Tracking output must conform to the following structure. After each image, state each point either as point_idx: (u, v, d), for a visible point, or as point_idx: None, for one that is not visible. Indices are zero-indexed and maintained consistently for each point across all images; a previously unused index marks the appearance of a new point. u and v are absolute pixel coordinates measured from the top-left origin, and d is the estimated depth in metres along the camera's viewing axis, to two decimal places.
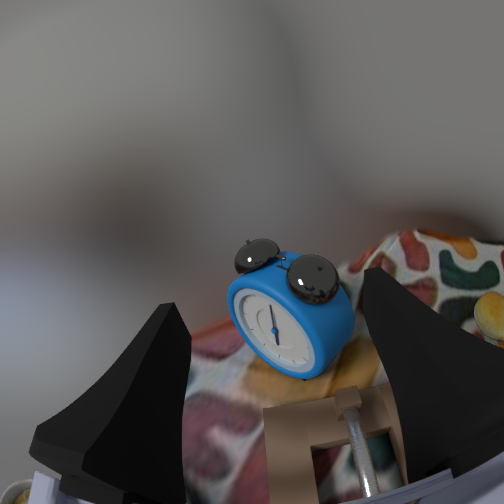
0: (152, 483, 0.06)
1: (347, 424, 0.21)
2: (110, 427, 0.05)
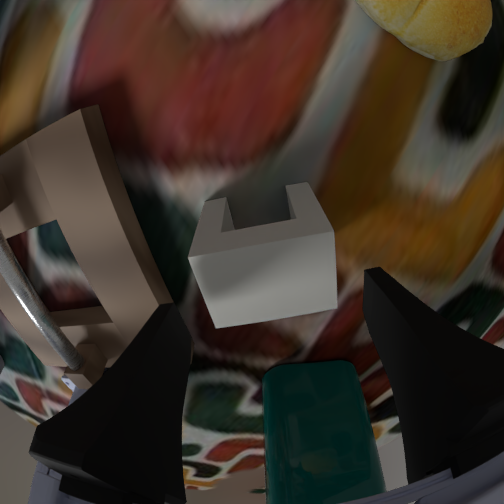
0: (152, 483, 0.06)
1: None
2: (110, 427, 0.05)
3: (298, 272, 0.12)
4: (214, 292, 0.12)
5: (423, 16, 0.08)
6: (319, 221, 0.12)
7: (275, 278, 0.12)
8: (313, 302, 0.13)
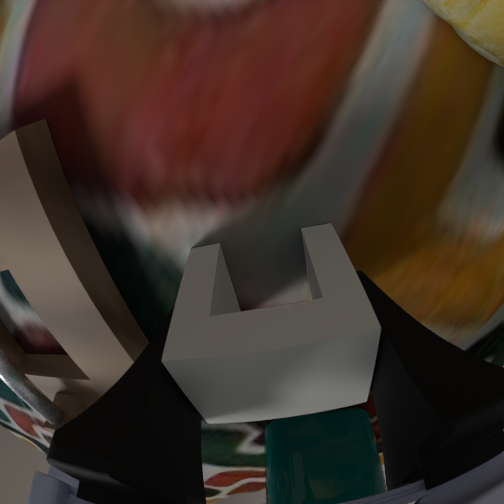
0: (175, 486, 0.06)
1: None
2: (136, 430, 0.05)
3: (322, 376, 0.08)
4: (203, 395, 0.08)
5: (494, 6, 0.04)
6: (357, 306, 0.07)
7: (289, 383, 0.08)
8: (337, 400, 0.08)
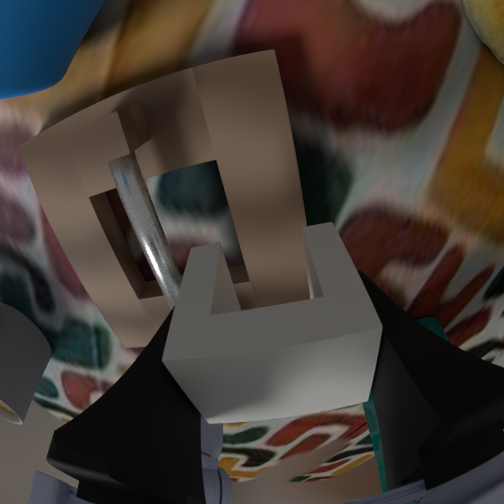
0: (175, 486, 0.06)
1: (117, 188, 0.13)
2: (136, 430, 0.05)
3: (323, 375, 0.08)
4: (204, 395, 0.08)
5: None
6: (359, 304, 0.07)
7: (290, 382, 0.08)
8: (338, 399, 0.08)
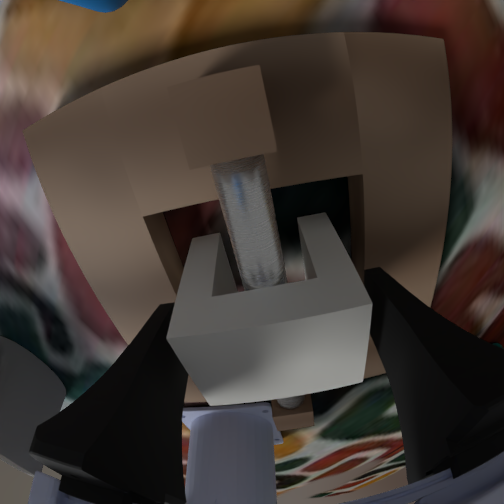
0: (152, 483, 0.06)
1: (224, 212, 0.08)
2: (110, 427, 0.05)
3: (318, 352, 0.08)
4: (205, 374, 0.09)
5: None
6: (350, 284, 0.08)
7: (287, 360, 0.08)
8: (334, 379, 0.09)
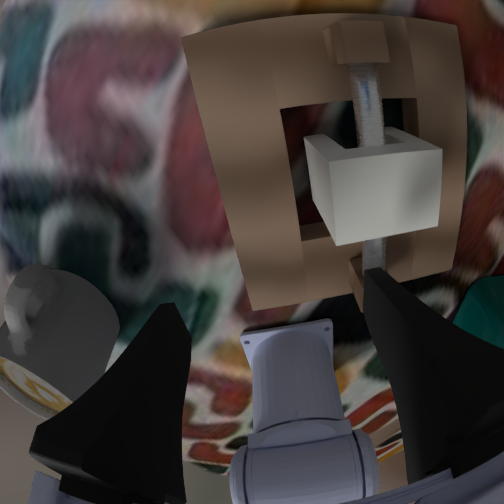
0: (152, 483, 0.06)
1: (356, 94, 0.11)
2: (110, 427, 0.05)
3: (415, 185, 0.12)
4: (345, 201, 0.12)
5: None
6: (426, 144, 0.11)
7: (398, 189, 0.12)
8: (422, 218, 0.13)
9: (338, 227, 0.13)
